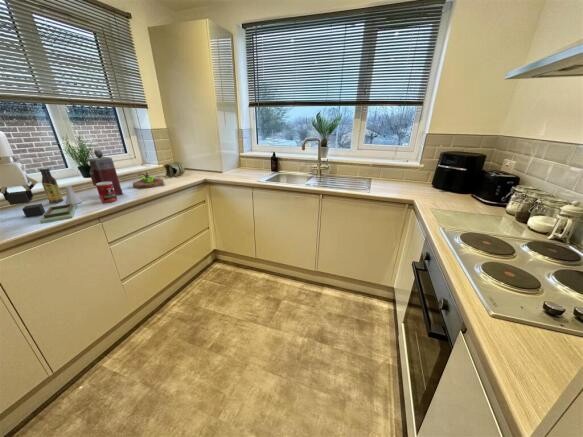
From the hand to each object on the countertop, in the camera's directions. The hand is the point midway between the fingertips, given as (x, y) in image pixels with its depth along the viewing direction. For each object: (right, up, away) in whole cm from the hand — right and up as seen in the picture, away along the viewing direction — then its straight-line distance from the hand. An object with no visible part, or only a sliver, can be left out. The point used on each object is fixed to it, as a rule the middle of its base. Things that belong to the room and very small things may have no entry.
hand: (20, 199), depth 111 cm
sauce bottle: (-14, +1, +31) cm, 34 cm away
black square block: (0, -1, 0) cm, 1 cm away
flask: (0, 0, +27) cm, 27 cm away
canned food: (+19, +1, +30) cm, 35 cm away
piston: (+27, +27, +93) cm, 100 cm away
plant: (+21, +16, +65) cm, 70 cm away
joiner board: (+8, -7, +11) cm, 15 cm away
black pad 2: (-5, -7, +11) cm, 14 cm away
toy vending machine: (+10, +6, +41) cm, 43 cm away
